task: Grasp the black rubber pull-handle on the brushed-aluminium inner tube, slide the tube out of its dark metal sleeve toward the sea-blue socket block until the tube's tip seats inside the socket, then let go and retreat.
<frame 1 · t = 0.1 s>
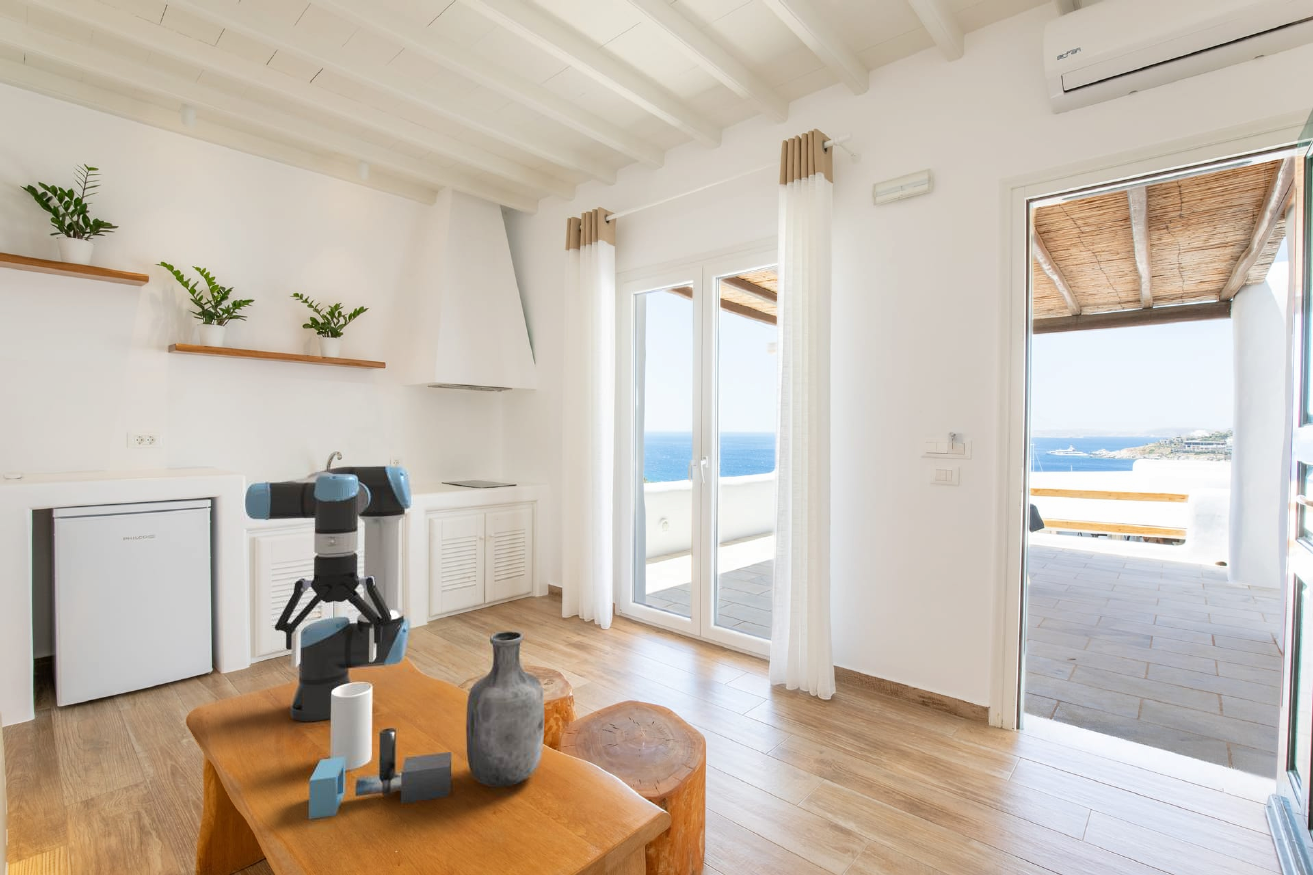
hand: (334, 662, 118), 28 cm above the table, fingers open, 13 cm apart
sleeve: (426, 791, 123), on the table
cup: (351, 762, 134), on the table
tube: (404, 760, 122), point 7 cm above the table, slide at 0.0 cm
socket: (327, 805, 118), on the table
vase: (505, 779, 128), on the table
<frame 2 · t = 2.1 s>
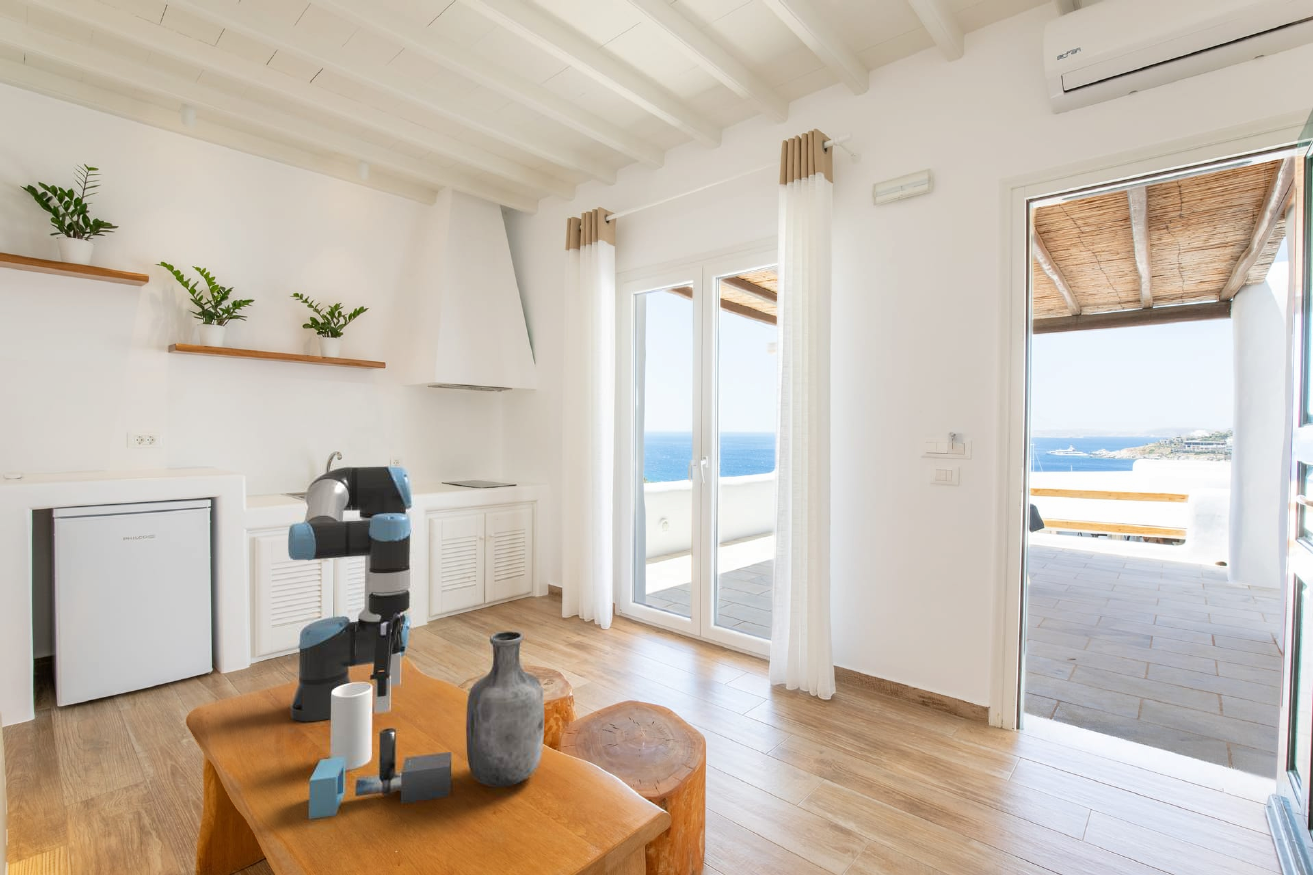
hand: (388, 697, 121), 20 cm above the table, fingers open, 13 cm apart
nothing on the table moved.
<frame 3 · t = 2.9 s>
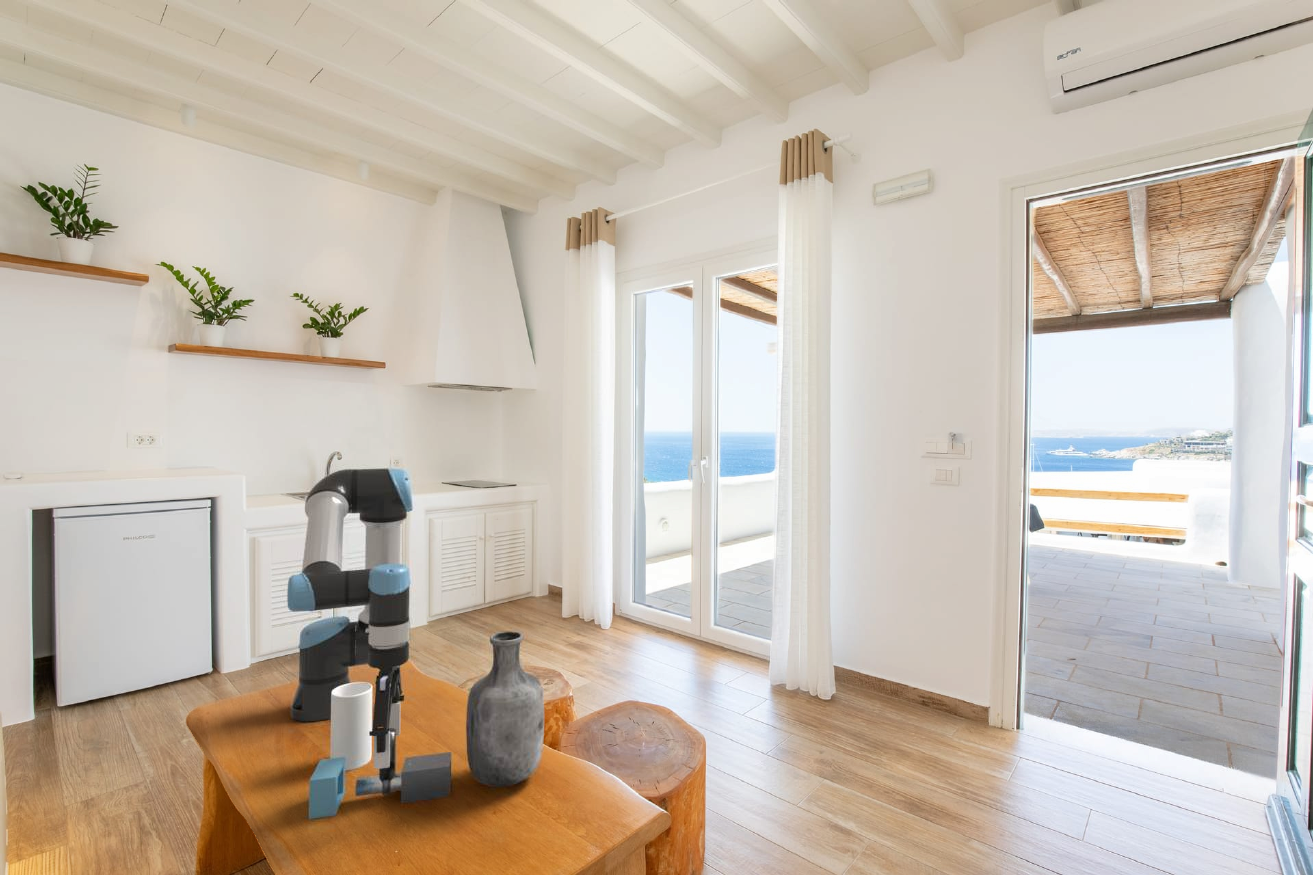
hand: (387, 750, 121), 9 cm above the table, fingers open, 13 cm apart
nothing on the table moved.
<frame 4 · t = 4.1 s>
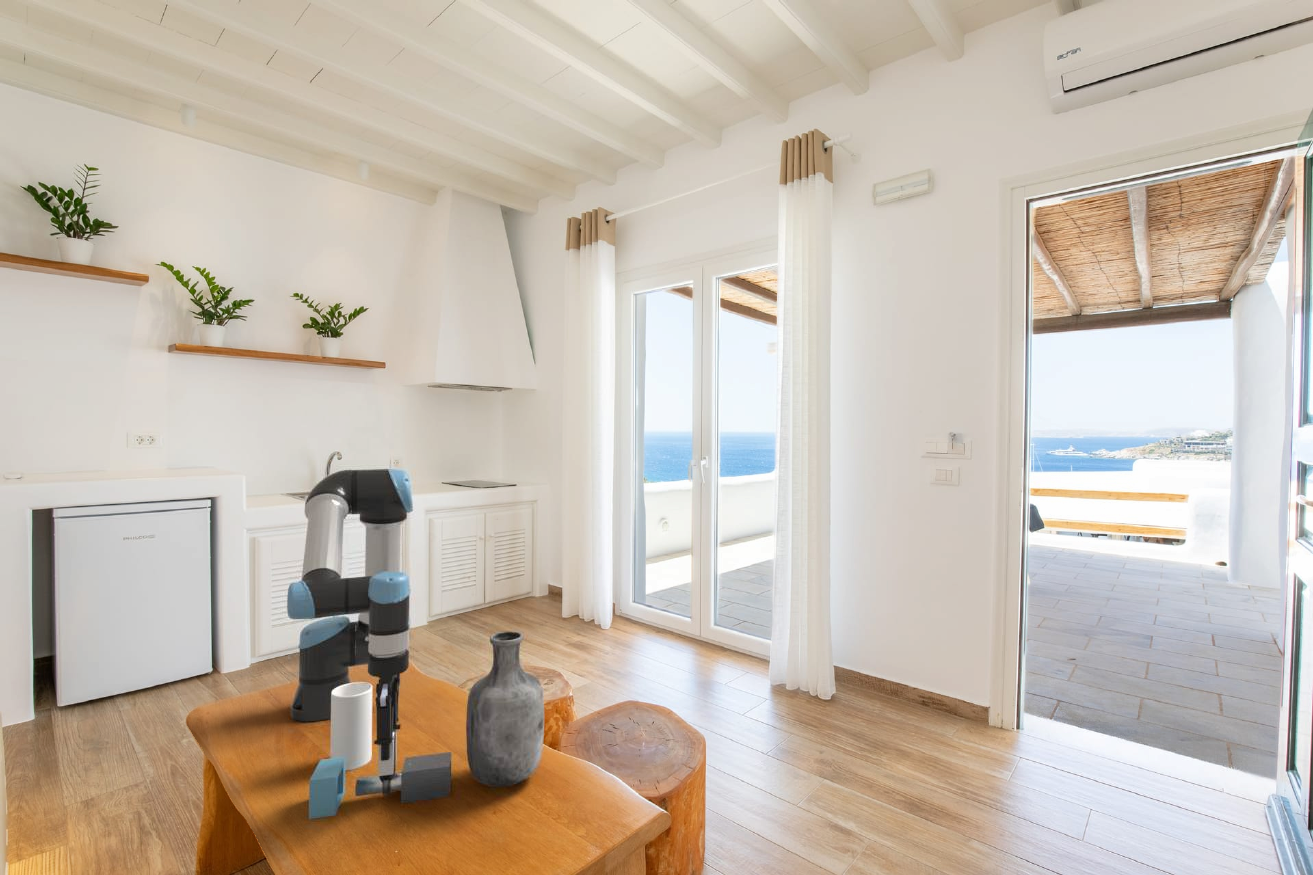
hand: (387, 769, 121), 6 cm above the table, fingers closed on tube, 3 cm apart
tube: (404, 760, 122), point 7 cm above the table, slide at 0.0 cm, touching gripper
everything else where it was.
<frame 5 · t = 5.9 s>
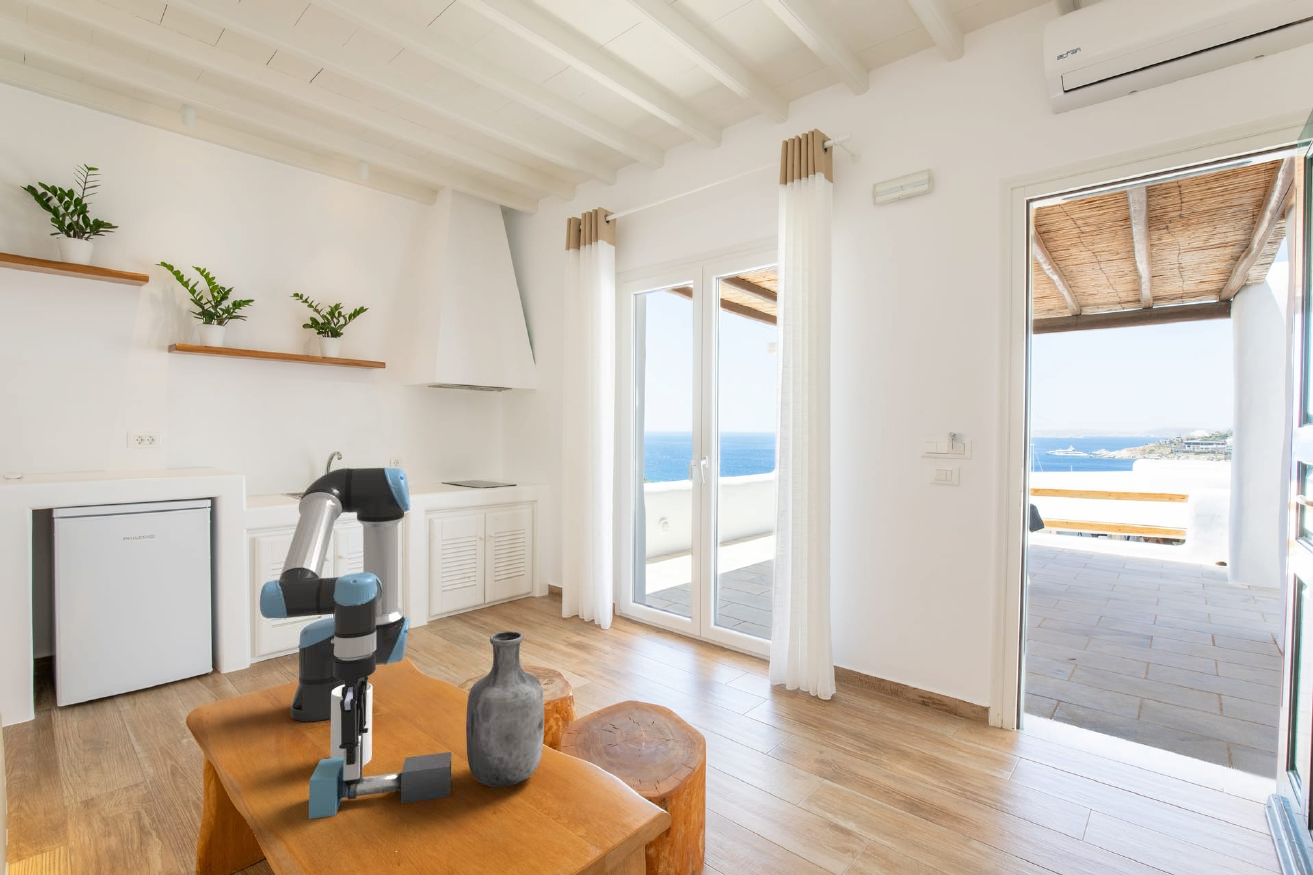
hand: (353, 773, 119), 6 cm above the table, fingers closed on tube, 3 cm apart
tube: (371, 764, 120), point 7 cm above the table, slide at 6.2 cm, touching gripper
everything else where it was.
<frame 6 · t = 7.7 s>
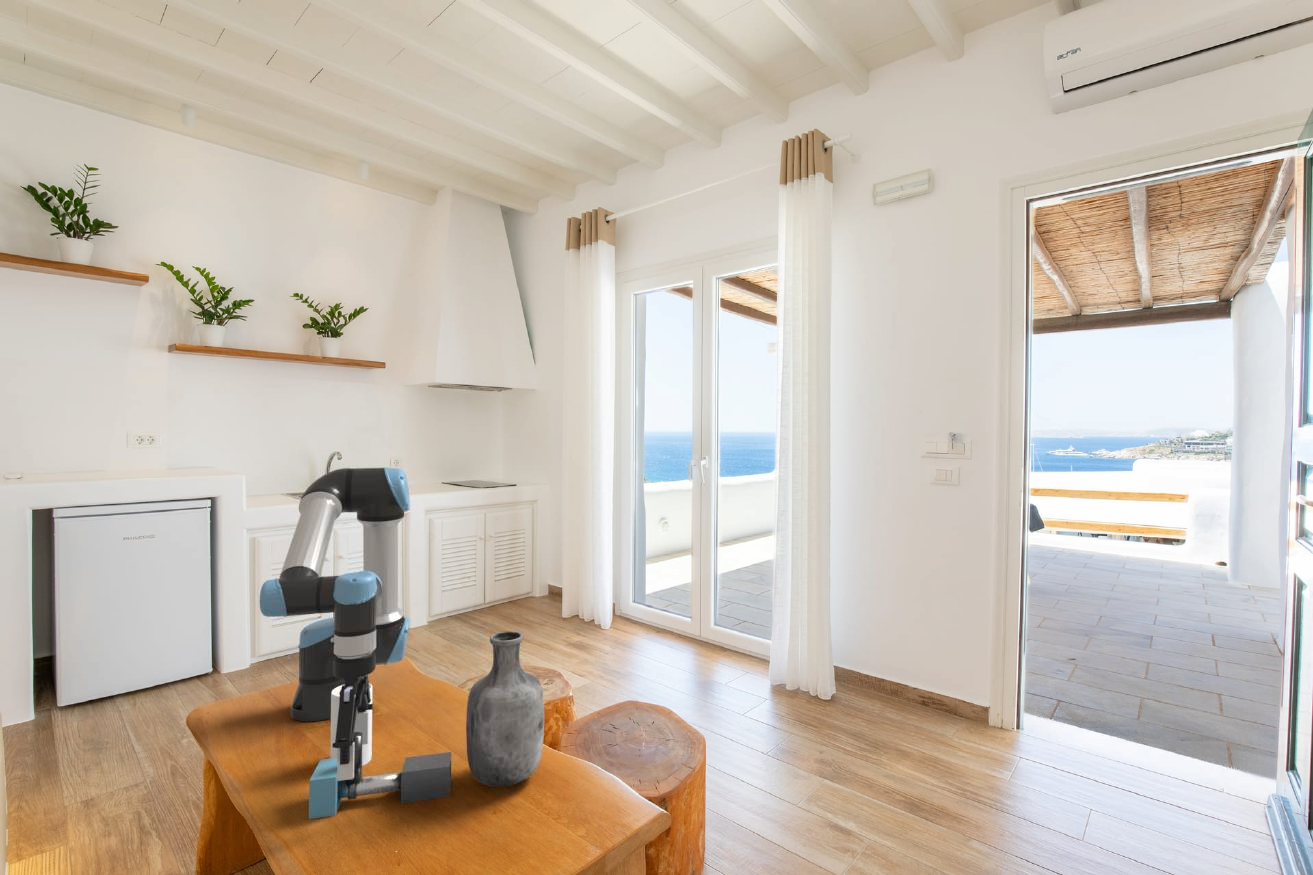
hand: (353, 760, 119), 8 cm above the table, fingers open, 13 cm apart
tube: (371, 764, 120), point 7 cm above the table, slide at 6.2 cm
everything else where it was.
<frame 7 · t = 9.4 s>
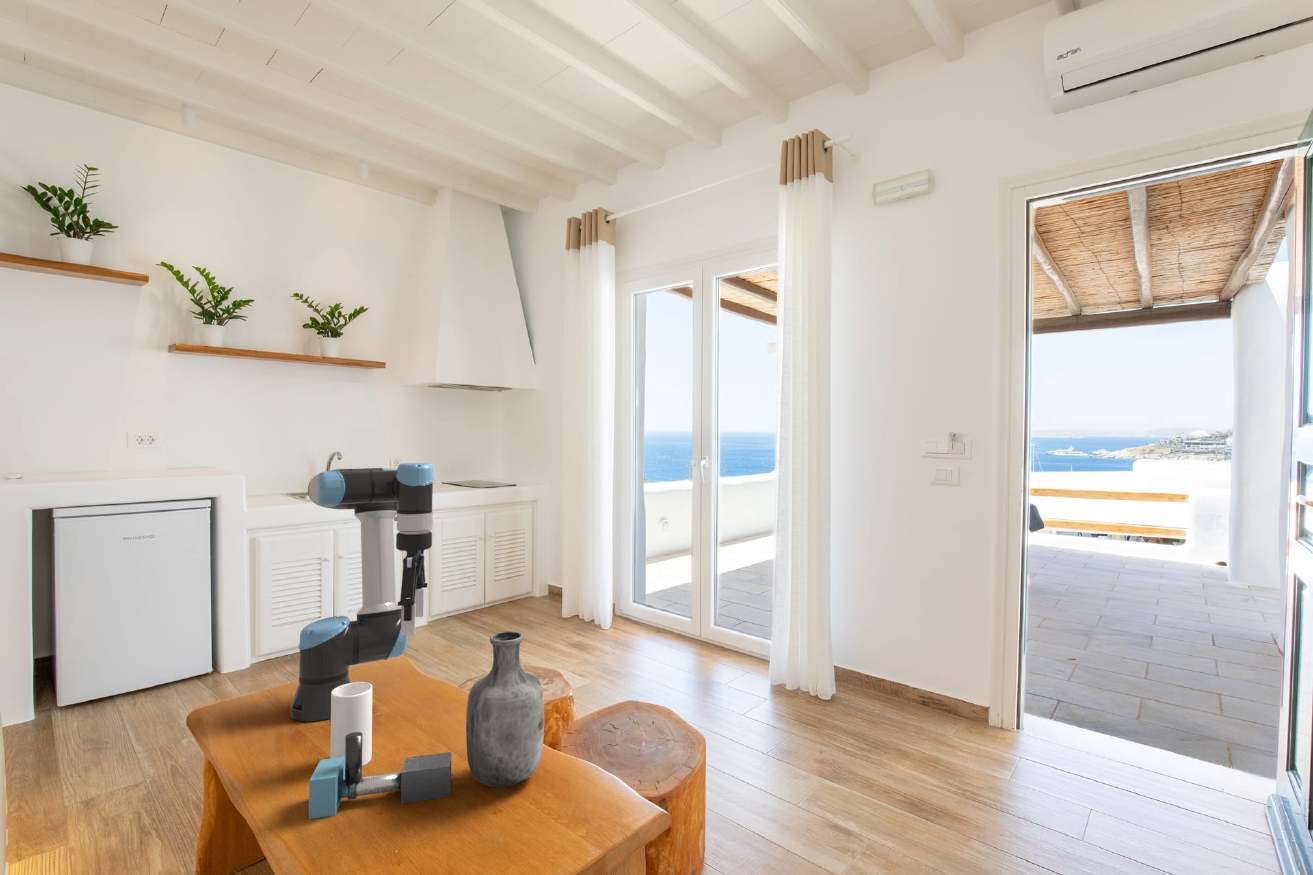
hand: (413, 625, 136), 30 cm above the table, fingers open, 13 cm apart
nothing on the table moved.
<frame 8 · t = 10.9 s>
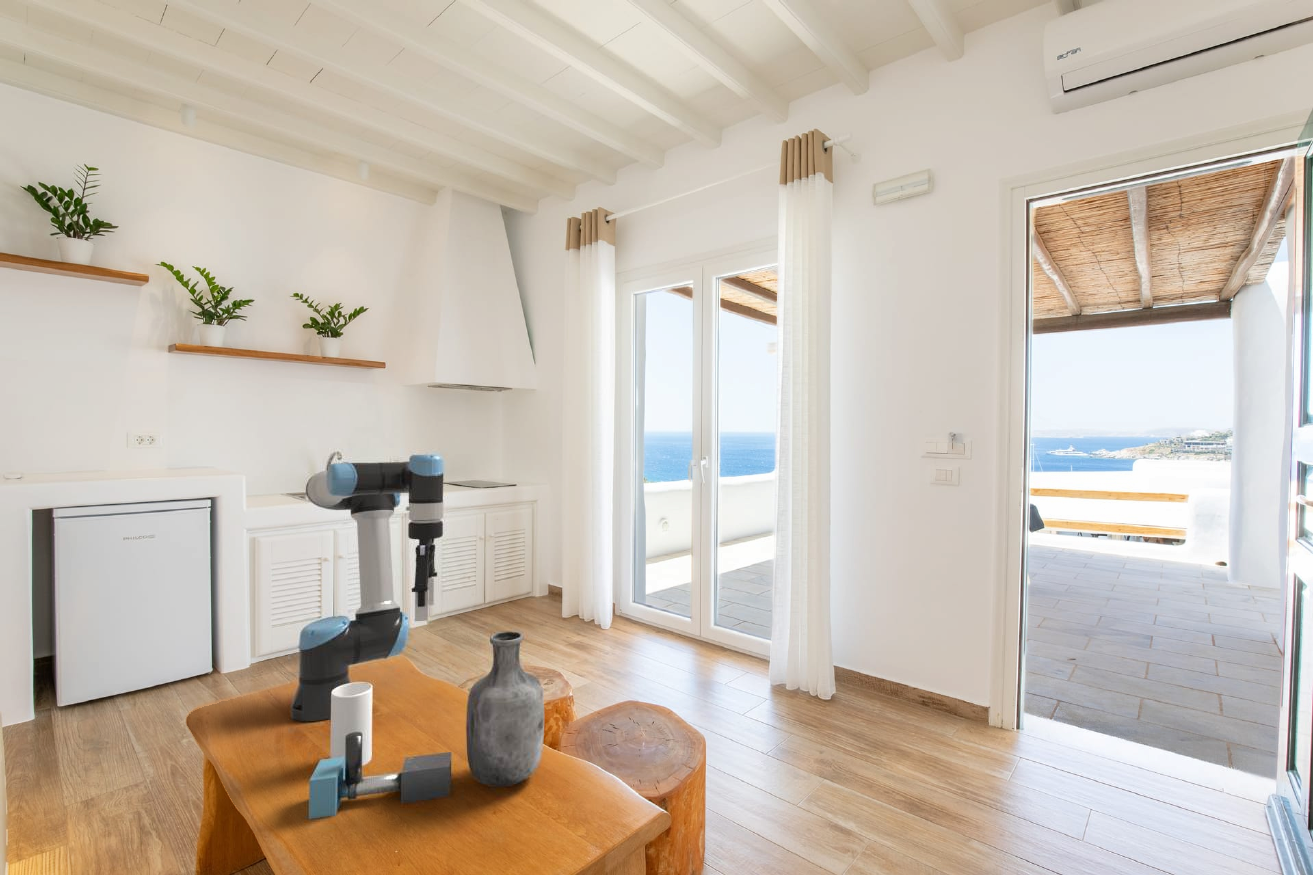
hand: (424, 612, 140), 32 cm above the table, fingers open, 13 cm apart
nothing on the table moved.
at the end: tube slide at 6.2 cm; the gripper is holding nothing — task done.
